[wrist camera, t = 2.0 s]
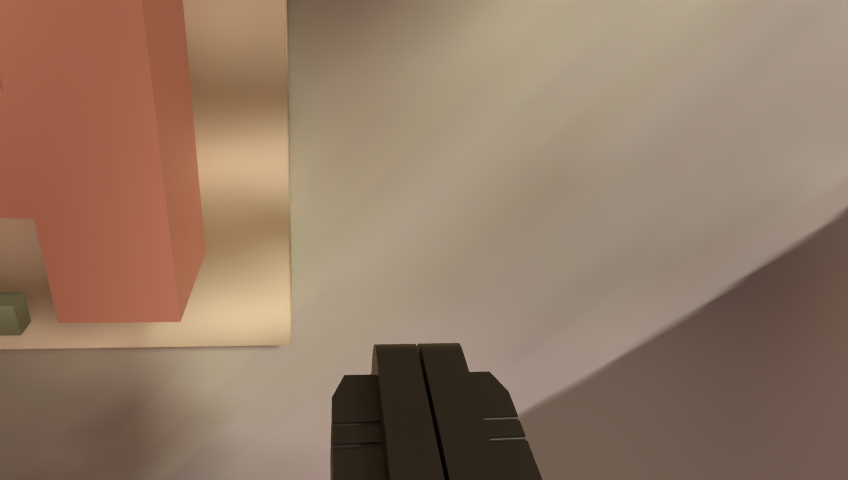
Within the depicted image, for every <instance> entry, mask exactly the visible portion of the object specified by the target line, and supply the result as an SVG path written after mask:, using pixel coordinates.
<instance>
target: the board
mask: <svg viewBox="0 0 848 480" xmlns="http://www.w3.org/2000/svg"><path fill="white" fill-rule="evenodd" d="M183 8H184V19H185V30H186V41H187V52H188V63H189V74H190V86H191V97H192V108H193V119H194V130H195V141H196V152H197V163H198V174H199V186H200V197H201V208H202V219H203V230H204V241H205V252H206V253H205V256H204V259H203V262H202V264H201V267H200V270H199V273H198V275H197V278H196V281H195V284H194V286H193V289H192V292H191V295H190V297H189V300H188V303H187V306H186V308H185V311H184V314H183V317H182V319H181V322H120V323H58V320H57V315H56V311H55V307H54V303H53V298H52V294H51V290H50V286H49V282H48V277H47V273H46V269H45V265H44V260H43V256H42V252H41V248H40V243H39V239H38V235H37V231H36V226H35V222H34V219H16V218H0V349H61V348H130V347H198V346H267V345H291V334H292V304H291V234H290V163H289V93H288V22H287V0H183Z"/></svg>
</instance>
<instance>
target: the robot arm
mask: <svg viewBox="0 0 848 480" xmlns="http://www.w3.org/2000/svg"><path fill="white" fill-rule="evenodd" d="M330 464H331V480H542V478H541V475H540V472H539V470H538V467H537V465H536V462H535V460H534V457H533V454H532V452H531V449H530V447H529V444H528V441H526V440H525V433H524V431H523V428H522V425H521V423H520V421H519V420H518V415H517V412H516V410H515V407H514V404H513V402H512V399H511V397H510V394H509V392H508V391H507V390H506V388H505V387H504V386H503V385H502V384H501V383H500V382H499V381H498V380H497V379H496V378H495V377H494V376H493V375H492V374H491V373H490V372H469V370H468V367H467V363H466V360H465V357H464V354H463V351H462V348H461V346H460V344H459V343H433V344H418V345H417V346H416V344H381V345H374V347H373V357H372V373H371V375H344V377H343V379H342V381H341V382H340V384H339V386H338V388H337V389H336V391H335V393H334V395H333V397H332V421H331V462H330Z"/></svg>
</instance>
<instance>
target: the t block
mask: <svg viewBox="0 0 848 480" xmlns="http://www.w3.org/2000/svg"><path fill="white" fill-rule="evenodd" d="M0 218H16V219H34V222H35V226H36V231H37V235H38V239H39V243H40V248H41V252H42V256H43V260H44V265H45V269H46V273H47V277H48V282H49V286H50V290H51V294H52V298H53V303H54V307H55V311H56V315H57V320H58V323H120V322H181V319H182V317H183V314H184V311H185V308H186V306H187V303H188V300H189V297H190V295H191V292H192V289H193V286H194V284H195V281H196V278H197V275H198V273H199V270H200V267H201V264H202V262H203V259H204V256H205V253H206V252H205V241H204V230H203V219H202V208H201V197H200V186H199V174H198V163H197V152H196V141H195V130H194V119H193V108H192V97H191V86H190V74H189V63H188V52H187V41H186V30H185V19H184V8H183V0H0Z"/></svg>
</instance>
